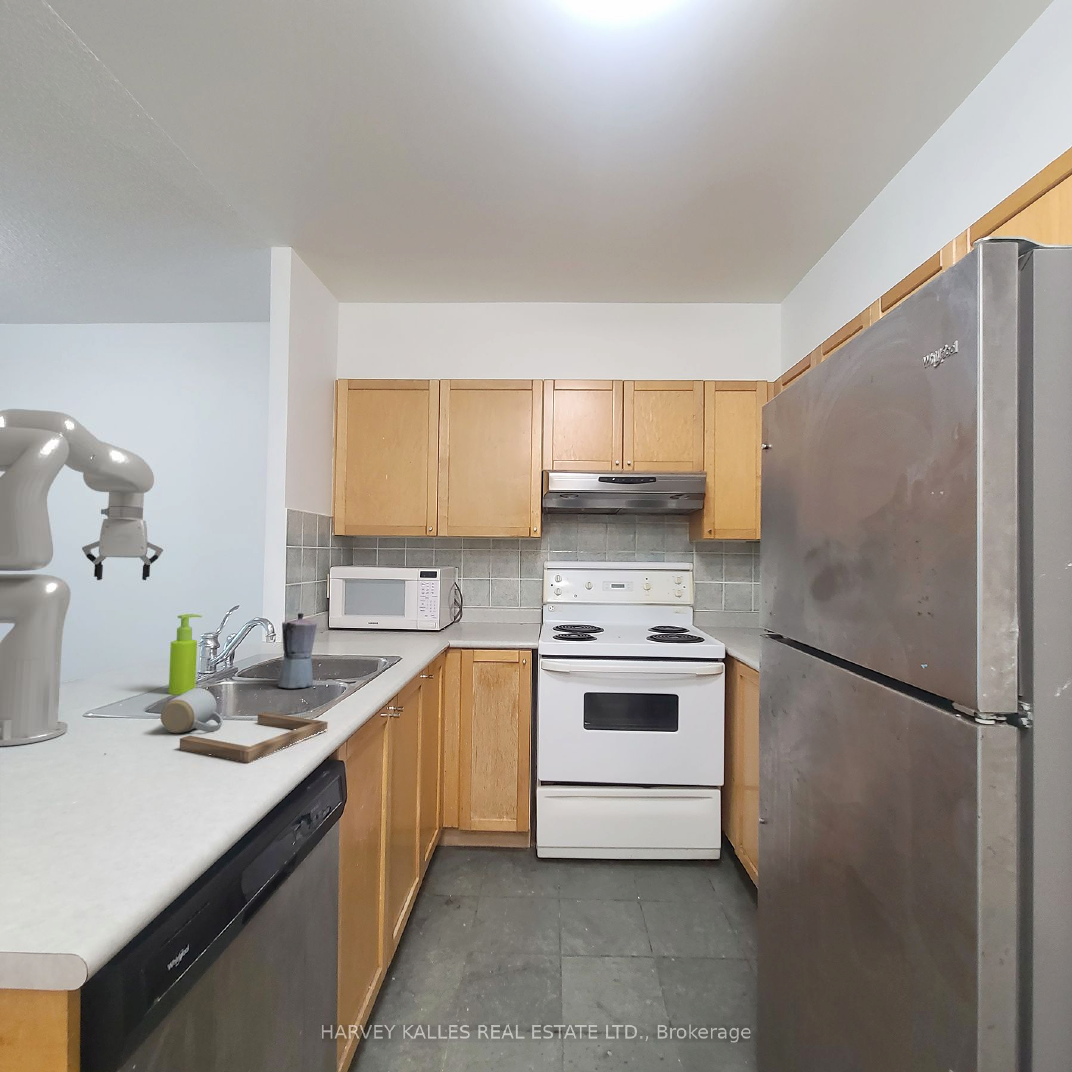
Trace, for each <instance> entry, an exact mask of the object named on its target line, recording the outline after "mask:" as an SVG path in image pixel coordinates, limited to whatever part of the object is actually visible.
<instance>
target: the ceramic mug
mask: <svg viewBox="0 0 1072 1072" xmlns="http://www.w3.org/2000/svg"><path fill="white" fill-rule="evenodd" d="M217 707H218V705H217V701H216V698H215V696H214V695H213V693H211V692H210V691H209V690H208V689H204V688H201V687H197V688H196V687H195V689H191V690H189V691H188V692H186V693H184V694H182V695H177V696H176V697H174V698H172V699H171V700H170V701H169V700H168V702H167V703H166V704H165V705H164V706H163V707H162V709H161V713H160V722H161V724H162V726H163V727H164V729H166V731H168V732H170V733H173V734H182V733H187V732H190V731H191V730H193V729H196V730H199V731H201V732H204V733H205V732H206V733H207V732H208V733H210V732H212V731H213V732H215V731H218V730H220V728H221V727H222V725H223V722H224V719H223V717H222V716H221V715H220V714H219V713H217ZM211 720H213V721H215V723H216V724H207V723H208V722H210V721H211ZM213 732H212V733H213Z"/></svg>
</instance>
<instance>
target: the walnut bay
mask: <svg viewBox="0 0 1072 1072" xmlns="http://www.w3.org/2000/svg"><path fill="white" fill-rule="evenodd" d="M257 725H263V726H269V727H275V728H281V729H286V728H289V729H288V730H291V731H287V732H285V733H282V734H280V735H277V736H275V737H271V738H269V739H267V740H263V741H261V742H259V743H258V742H257V743H256V744H253V745H250V746H249V745H244V744H243V745H242V744H237V743H231V742H226V741H222V740H217V739H216V740H215V739H211V738H205V737H199V736H194V735H186V736H184V737H180V738H179V750H180V749H181V751H185V750H187V752H190V751H193V752H192V753H195V752H197V754H200V753H203V754H202V755H205V754H211V755H212V756H211V757H215V756H219V757H218V758H220V757H224V758H223V759H225V758H228V759H227V760H230V759H233V760H232V761H235V760H238V761H237V762H240V761H243V762H242V763H245V762H250V763H252V762H254V761H253V760H255V759H257V760H259V759H258V758H260V757H262V758H264V757H263V756H265V757H267V756H268V755H267V754H270V753H272V754H274V753H273V752H274V751H277V750H280V749H282V748H283V747H286V746H289V745H290V744H293V743H295V742H297V741H299V740H302V739H304V738H307V737H309V736H311V735H314V734H317V733H318V732H321V731H324V730H325V729H327V730H328V721H326V720H325V721H324V720H318V719H313V718H312V719H311V718H305V717H299V716H293V715H287V714H280V713H279V714H278V713H274V712H273V713H272V712H267V711H264V712H261V713H258V714H257ZM292 729H296V730H292ZM282 750H283V749H282ZM280 751H281V750H280ZM277 752H278V751H277ZM266 755H267V756H266ZM270 755H271V754H270ZM260 759H261V758H260ZM251 761H252V762H251ZM255 761H256V760H255Z"/></svg>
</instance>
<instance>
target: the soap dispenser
mask: <svg viewBox="0 0 1072 1072" xmlns="http://www.w3.org/2000/svg"><path fill="white" fill-rule="evenodd" d="M202 617H203V615H200V614H192V613H191V614H190V613H189V614H181V615H177V619H180V626H178V627H176V640H173V641H170V652H169V674H168V675H169V676H168V677H169V678H168V679H169V680H168V695H173V696H174V695H175V696H180V695H182V694H184V693H186V692H188V691H189V690H191V689H195V688H196V678H197V677H196V676H197V652H198V651H197V649H198V640H196V639H193V638H192V636H193V627H191V626H189V622H190V621H189V620H190V618H202Z"/></svg>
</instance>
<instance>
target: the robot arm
mask: <svg viewBox="0 0 1072 1072" xmlns="http://www.w3.org/2000/svg"><path fill="white" fill-rule="evenodd" d="M64 466H67V467H68V468H69V469H71V470H73V471H75V472H80V473H82V478H83V482H84V483H85V485H86V486H87V487H88V488H89V489H91V490H92V491H95V492H99V493H100V492H101V493H108V501H107V503H108V506H107V507H106V508H103V509H102V508H101V509H100V514H101V515H105V516H106V517H107V518H103V520H102V523H101V529H100V533H99V540H98V541H95V542H92V543H90V544H88V545H87V544H86V545H84V546H82V547H81V550H82V552H83V553H84V555H85V556H86V558H87V559H88V560H89V561H90V562H92V564H93V565H94V573H93V576H94V577H95V578H96V581H101V580H103V571H104V565H103V564H102V563H103V561H104V560H106V559H107V558H126V559H127V558H134V559H136V558H137V559H138V558H139V559H140V560H142V562H143V563H144V564H143V565H142V573H141V575H142V580H143V581H146V580H147V578H150V576H151V575H150V573H151V565H152V564H153V563H154V562H155V561H156V560H158V559H159V558H160V556H161V554H162V553H163V552H164V549H163V548H162V547H160V546H158V545H155V544H153V543H152V542H148V528H147V523H146V522H147V521H146V520H143V519H144V517H143V516H144V499H145V498H144V497H145V493H148V492H150V491H151V490H152V488H153V487H154V483H155V476H154V472H153V470H152V468H151V467H150V465H149V464H148V463H147V462H146V461H145V460H144V459H143V458H142V457H141V456H139V455H138V454H136V453H134V452H132V451H130V450H127V449H124V448H121V447H119V446H115V445H113V444H110V443H107V442H106V441H101V440H100V439H98V438H97V437H96V435H95V436H94V434H92V433H91V432H90V431H89V430H88V429H87V428H86V427H85V426H84V425H82V424H81V423H80V422H79V421H78V420H77V419H76V418H75V417H73V416H71V415H70V414H68V413H64V412H59V411H53V410H52V411H51V410H39V409H38V410H37V409H24V408H23V409H22V408H10V409H9V408H8V409H3V410H0V472H4V473H3V474H2V475H0V572H2V571H3V572H12V571H13V572H23V571H24V572H26V571H27V572H28V571H37V570H40V569H43V568H46V567H47V566H49V564H50V563H51V562H52V559H53V556H54V545H53V544H54V543H53V537H52V530H51V523H50V517H49V516H50V515H49V508H48V495H49V491H50V489H51V487H52V485H53V483H54V480H55V479H56V478H57V476H58V474H59V473H60V471H61V470H62V469H63V467H64ZM96 548H98V554H99V556H97V557H96V556H95V555H93V553H92V550H93V549H96ZM148 549H151V550H153V551H155V552H154V554H153V555H151V557H150V558H149V557H148V556H147V554H148ZM70 601H71V588H70V587H69V584H68V583H67V582H66V581H65V580H64V579H62V578H60V577H57V576H54V575H49V574H40V573H39V574H37V573H13V574H12V573H10V574H9V573H0V624H12V625H13V624H14V625H13V626H12V628H11V629H10V631H8V633H7V634H6V635H5V636H4V637H3V638H2V639H1V640H0V747H7V746H18V745H19V746H20V745H25V744H32V743H36V742H42V741H46V740H50V739H53V738H56V737H59V736H61V735H63V734H65V733H67V731H68V730H69V729H68V728H69V727H68V723H66V722H63V721H59V709H60V708H59V707H60V688H61V686H60V685H61V669H62V668H61V667H62V665H61V664H62V662H61V661H62V643H63V634H64V625H65V620H66V616H67V613H68V609H69V606H70Z"/></svg>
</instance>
